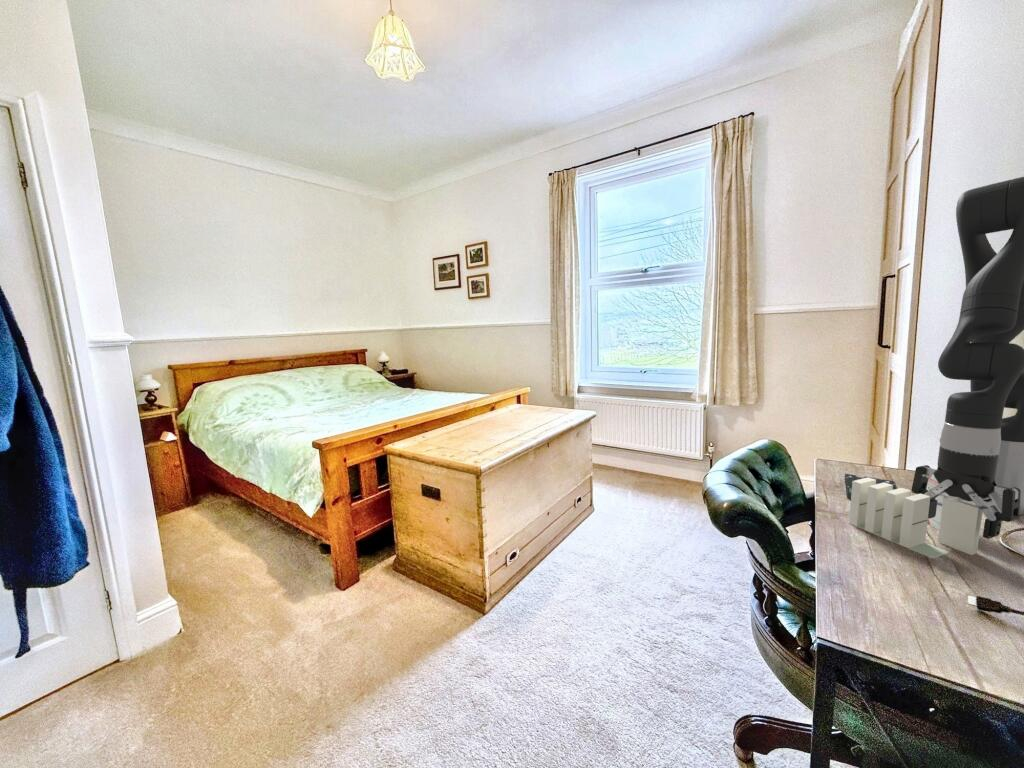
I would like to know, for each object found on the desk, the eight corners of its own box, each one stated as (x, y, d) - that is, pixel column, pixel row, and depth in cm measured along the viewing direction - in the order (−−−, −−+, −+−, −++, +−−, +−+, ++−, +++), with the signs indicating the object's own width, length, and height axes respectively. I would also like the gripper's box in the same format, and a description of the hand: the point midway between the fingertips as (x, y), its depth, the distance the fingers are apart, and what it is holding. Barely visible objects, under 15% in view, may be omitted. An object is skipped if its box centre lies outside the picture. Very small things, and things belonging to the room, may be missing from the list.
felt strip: (862, 519, 92) (862, 517, 92) (949, 554, 78) (949, 552, 78) (846, 524, 91) (846, 522, 91) (932, 560, 77) (932, 558, 77)
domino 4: (915, 538, 83) (920, 493, 82) (925, 542, 82) (930, 496, 80) (899, 544, 82) (904, 497, 80) (909, 548, 80) (914, 501, 79)
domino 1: (864, 518, 92) (868, 477, 90) (872, 522, 90) (876, 480, 89) (848, 523, 90) (852, 481, 89) (857, 526, 89) (860, 483, 87)
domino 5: (937, 543, 82) (943, 497, 80) (942, 542, 82) (948, 496, 81) (971, 556, 77) (978, 508, 76) (976, 555, 78) (983, 506, 76)
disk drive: (843, 482, 114) (846, 502, 102) (843, 473, 113) (847, 491, 102) (893, 490, 108) (902, 511, 96) (894, 480, 107) (904, 500, 95)
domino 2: (879, 525, 89) (884, 482, 87) (888, 528, 87) (893, 485, 86) (864, 529, 87) (868, 486, 86) (873, 533, 86) (877, 489, 84)
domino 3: (896, 531, 86) (901, 487, 85) (906, 535, 85) (911, 490, 83) (881, 536, 85) (885, 491, 83) (890, 540, 83) (895, 494, 81)
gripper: (1037, 456, 71) (1022, 541, 73) (932, 435, 84) (923, 508, 87) (1012, 461, 69) (998, 549, 71) (909, 440, 82) (900, 514, 85)
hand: (957, 526), depth 79 cm, fingers open, 8 cm apart
